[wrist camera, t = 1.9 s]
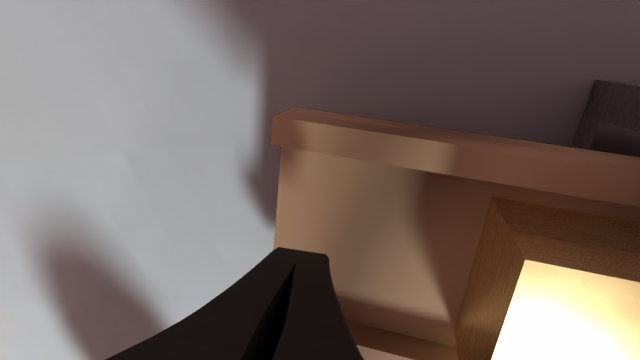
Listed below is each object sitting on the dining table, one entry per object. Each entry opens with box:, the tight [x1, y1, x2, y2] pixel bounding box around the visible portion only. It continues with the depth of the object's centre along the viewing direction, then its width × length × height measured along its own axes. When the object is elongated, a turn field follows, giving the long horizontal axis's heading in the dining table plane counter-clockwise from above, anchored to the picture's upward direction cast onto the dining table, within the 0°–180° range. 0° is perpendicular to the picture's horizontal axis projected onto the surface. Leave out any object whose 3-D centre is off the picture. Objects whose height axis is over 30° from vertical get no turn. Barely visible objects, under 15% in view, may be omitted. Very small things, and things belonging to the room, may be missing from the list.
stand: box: [572, 80, 640, 157], centre depth 12 cm, size 2×12×5 cm, turn 174°
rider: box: [454, 196, 640, 360], centre depth 9 cm, size 5×5×4 cm
